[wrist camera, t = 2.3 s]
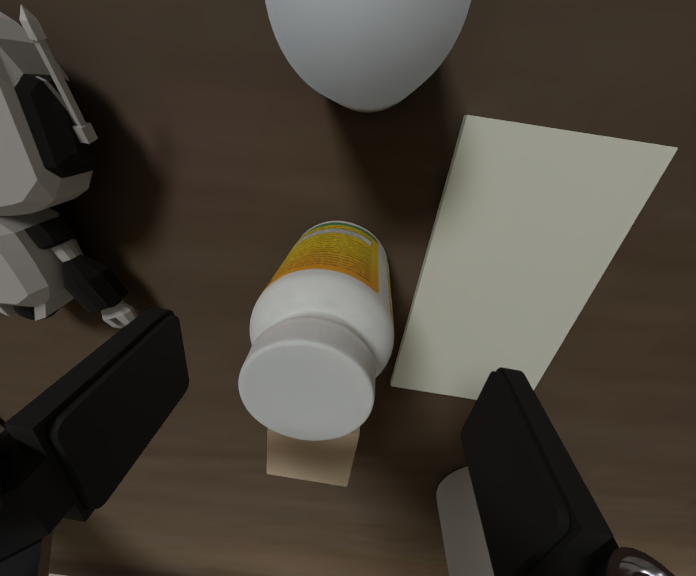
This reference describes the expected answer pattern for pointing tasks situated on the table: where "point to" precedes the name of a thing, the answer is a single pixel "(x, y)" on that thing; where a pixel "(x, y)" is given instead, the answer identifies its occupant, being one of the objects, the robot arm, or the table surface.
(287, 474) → the birch block
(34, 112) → the robot toy
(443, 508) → the mug
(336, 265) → the supplement bottle
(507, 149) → the sage mat
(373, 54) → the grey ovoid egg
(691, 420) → the table surface
